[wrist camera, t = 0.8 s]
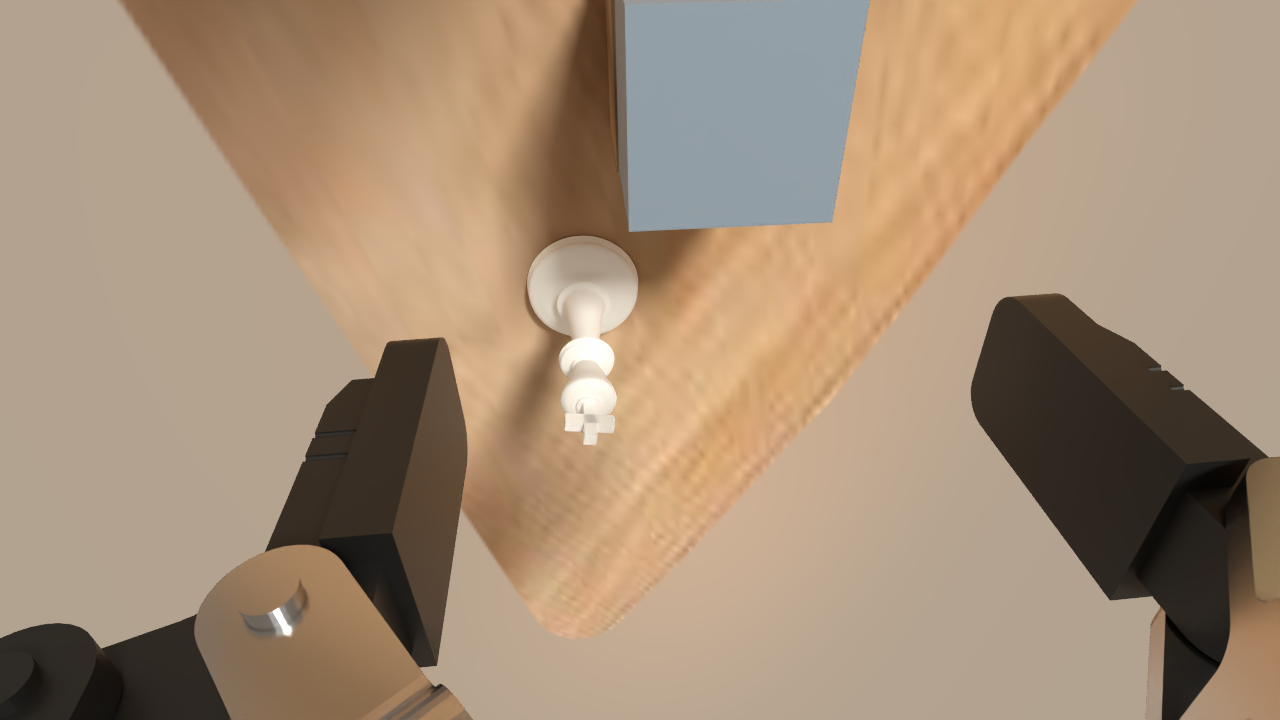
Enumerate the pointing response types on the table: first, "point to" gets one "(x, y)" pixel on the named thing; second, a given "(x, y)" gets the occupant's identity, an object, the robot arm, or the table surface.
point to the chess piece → (584, 321)
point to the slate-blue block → (734, 109)
